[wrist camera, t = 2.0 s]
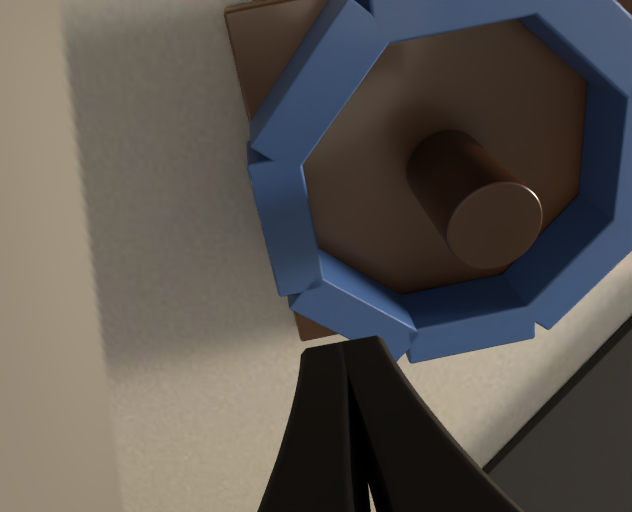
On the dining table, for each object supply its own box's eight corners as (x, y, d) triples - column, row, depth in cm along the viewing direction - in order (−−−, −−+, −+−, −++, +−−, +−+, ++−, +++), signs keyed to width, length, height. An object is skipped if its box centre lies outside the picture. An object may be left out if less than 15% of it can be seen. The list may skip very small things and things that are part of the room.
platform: (298, 325, 21) (313, 428, 16) (223, 7, 15) (216, 37, 11) (589, 265, 21) (678, 352, 17) (621, -73, 15) (768, -74, 11)
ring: (296, 348, 20) (301, 387, 18) (213, 4, 14) (208, 14, 12) (609, 283, 20) (643, 316, 18) (652, -84, 14) (708, -86, 13)
